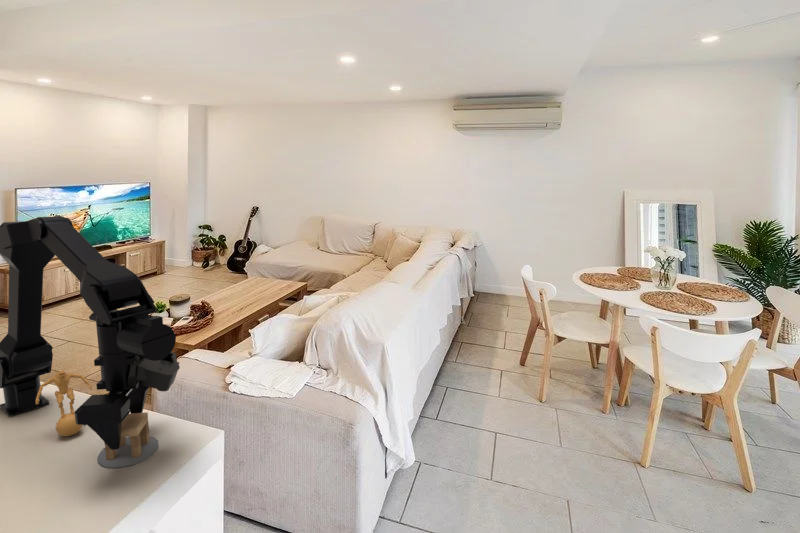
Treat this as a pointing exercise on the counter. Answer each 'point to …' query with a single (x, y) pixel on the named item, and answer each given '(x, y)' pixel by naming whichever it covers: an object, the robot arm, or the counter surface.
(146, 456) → the charcoal mat
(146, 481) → the counter surface
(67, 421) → the figurine
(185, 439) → the counter surface
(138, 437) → the oak stool
